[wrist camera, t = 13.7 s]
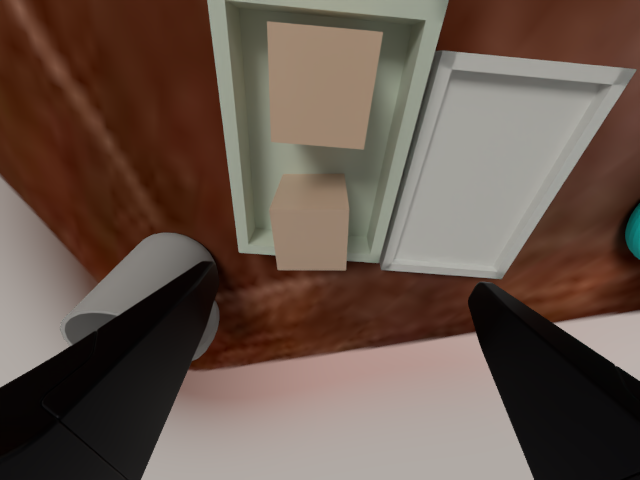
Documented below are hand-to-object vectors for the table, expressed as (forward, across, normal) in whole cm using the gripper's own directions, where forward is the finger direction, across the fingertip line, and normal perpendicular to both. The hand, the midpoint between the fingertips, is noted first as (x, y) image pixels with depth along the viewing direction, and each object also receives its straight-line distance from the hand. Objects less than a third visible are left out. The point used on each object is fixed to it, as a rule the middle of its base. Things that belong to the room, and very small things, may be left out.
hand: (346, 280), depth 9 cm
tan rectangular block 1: (+12, +1, -5) cm, 13 cm away
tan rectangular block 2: (+12, +1, +3) cm, 12 cm away
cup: (+13, +13, +12) cm, 22 cm away
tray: (+12, -10, +1) cm, 16 cm away
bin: (+12, +2, -1) cm, 13 cm away
